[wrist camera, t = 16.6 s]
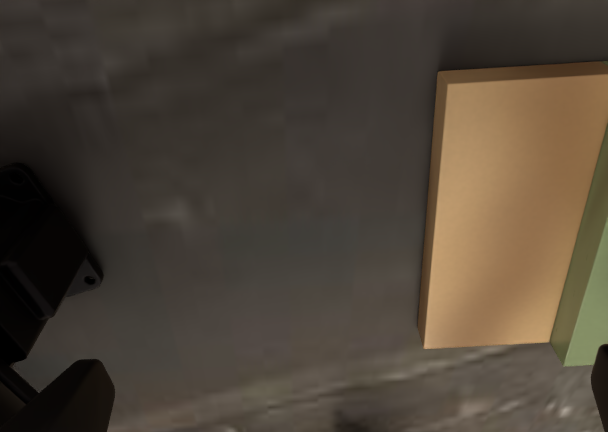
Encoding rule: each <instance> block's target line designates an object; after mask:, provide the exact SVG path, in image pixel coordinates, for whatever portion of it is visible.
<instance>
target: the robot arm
mask: <svg viewBox="0 0 608 432" xmlns="http://www.w3.org/2000/svg"><path fill="white" fill-rule="evenodd" d="M14 173H17V174H20V175H21V176H22V178H23V180H21V179H18V178H17V177H16V176H15V174H14ZM88 276H91V277H93V278H94V279H90V278H89V277H88ZM103 276H104V275H103V273H102V271H101V270H100V268H99V267H98V265H97V264H96V262H95V261H94V260H93V258H92V257H91V255H90V254H89V252H88V249H87V247H86V246H85V244H84V243H83V242H82V240H81V239H80V237H79V236H78V234H77V233H76V231H75V230H74V229H73V227H72V226H71V224H70V223H69V221H68V220H67V219H66V217H65V216H64V214H63V213H62V211H61V210H60V208H59V207H58V206H56V205H55V203H54V202H53V201H52V199H51V198H50V196H49V195H48V193H47V192H46V190H45V189H44V188H43V186H42V185H41V183H40V182H39V180H38V179H37V178H36V176H35V175H34V173H33V172H32V170H31V169H30V168H29V167H28V166H26V165H24V164H21V163H13V164H10V165H8V166H5V167H2V168H0V432H107V429H108V424H109V420H110V416H111V412H112V407H113V403H114V398H115V389H114V385H113V383H112V381H111V379H110V377H109V375H108V373H107V371H106V369H105V367H104V365H103V363H102V362H101V361H99V360H98V359H84V360H78V361H76V362H75V363H73V364H72V365H71V366H70V367H69V368H68V369H66V370H65V371H64V372H63V373H62V374H61V375H60V376H58V377H57V378H56V379H55V380H54V381H53V382H52V383H50V384H49V385H48V386H47V387H46V388H45V389H44V390H42V391H41V392H40V393H38V392H37V391H36V390H35V389H34V388H33V387H32V386H31V385H29V384H28V383H27V382H26V381H25V380H24V379H23V378H22V377H21V376H20V375H19V374H18V373H16V372H15V371H14V370H13V369H12V367H13V365H14V363H15V362H18V361H22V360H24V359H26V358H27V356H28V354H29V352H30V351H31V349H32V347H33V345H34V344H35V342H36V340H37V338H38V336H39V335H40V333H41V331H42V329H43V328H44V326H45V324H46V322H47V320H48V319H49V318H51V317H53V316H54V315H55V313H56V312H57V310H58V308H59V306H60V304H61V303H62V301H63V299H64V298H65V297H68V296H72V295H75V294H78V293H82V292H85V291H89V290H92V289H95V288H97V287H99V286H100V284H101V282H102V280H103ZM591 385H592V390H593V393H594V397H595V400H596V404H597V407H598V410H599V414H600V417H601V421H602V424H603V427H604V431H605V432H608V344H602V345H601V346H600V347H599V348H598V351H597V355H596V359H595V362H594V366H593V370H592V374H591Z"/></svg>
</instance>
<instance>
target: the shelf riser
mask: <svg viewBox="0 0 608 432" xmlns="http://www.w3.org/2000/svg"><path fill="white" fill-rule="evenodd" d="M418 331H419V334H420V338H421V341H422V345H423V348H424V349H432V348H451V347H469V346H488V345H506V344H525V343H543V342H550V343H551V345H552V347H553V349H554V351H555V352H556V354H557V356H558V358H559V359H560V361H561V363H562V365H563V366H581V365H594V362H595V359H596V355H597V351H598V348H599V347H600V346H601V345H602V344H608V61H601V62H600V61H597V62H581V63H565V64H549V65H532V66H516V67H500V68H484V69H468V70H452V71H439V72H438V76H437V88H436V101H435V113H434V126H433V138H432V151H431V164H430V176H429V189H428V201H427V214H426V227H425V239H424V252H423V264H422V277H421V289H420V302H419V315H418Z"/></svg>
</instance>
